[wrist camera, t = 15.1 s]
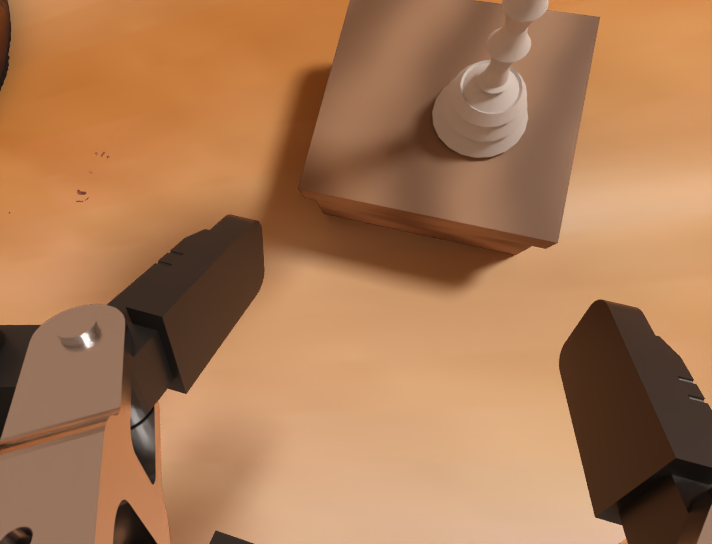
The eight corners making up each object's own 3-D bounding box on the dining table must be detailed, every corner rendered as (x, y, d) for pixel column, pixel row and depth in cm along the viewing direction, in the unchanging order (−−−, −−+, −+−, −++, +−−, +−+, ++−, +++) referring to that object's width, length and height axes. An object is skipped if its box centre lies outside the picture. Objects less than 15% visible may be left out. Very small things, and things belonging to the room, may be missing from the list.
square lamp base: (559, 77, 25) (599, 17, 20) (523, 259, 24) (557, 243, 19) (361, 46, 27) (354, -16, 22) (316, 214, 26) (298, 188, 21)
